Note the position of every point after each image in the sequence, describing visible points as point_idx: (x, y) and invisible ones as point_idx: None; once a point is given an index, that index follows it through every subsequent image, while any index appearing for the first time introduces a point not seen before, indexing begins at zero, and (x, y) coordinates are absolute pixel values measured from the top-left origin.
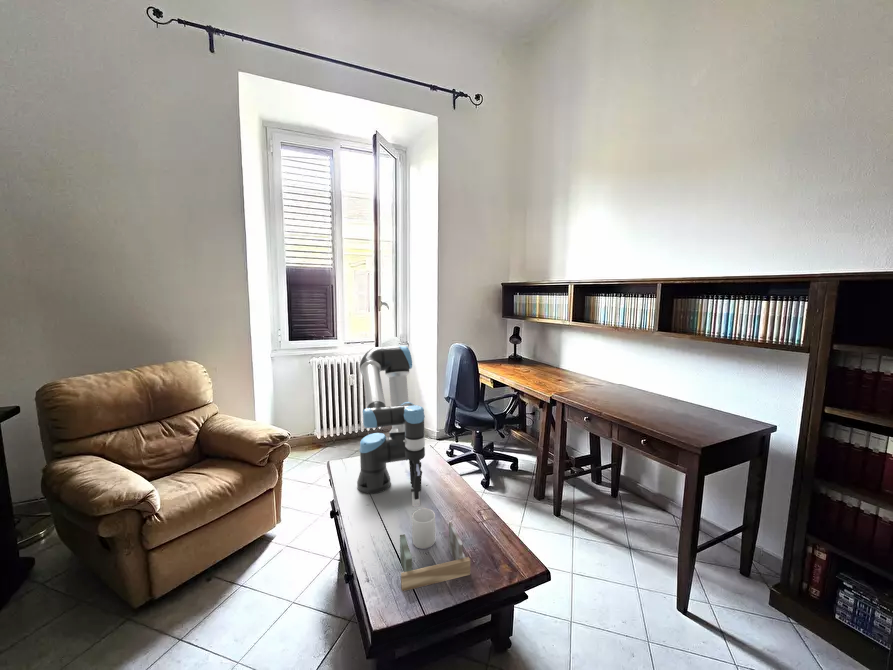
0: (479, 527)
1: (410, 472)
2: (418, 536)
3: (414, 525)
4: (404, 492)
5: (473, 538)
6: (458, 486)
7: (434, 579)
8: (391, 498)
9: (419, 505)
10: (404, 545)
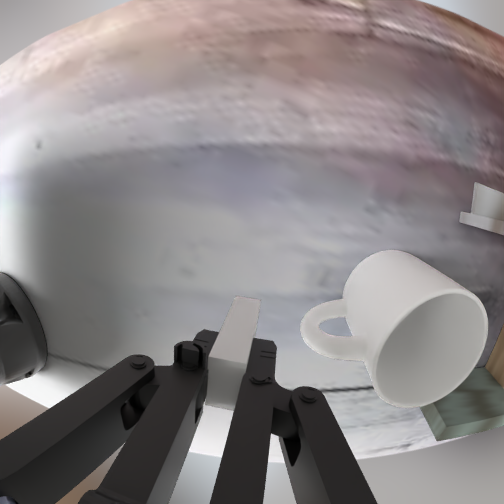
0: (401, 49)
1: (89, 469)
2: (426, 349)
3: (423, 385)
4: (50, 248)
5: (448, 108)
6: (100, 23)
7: None
8: (73, 307)
9: (260, 302)
10: (480, 428)
